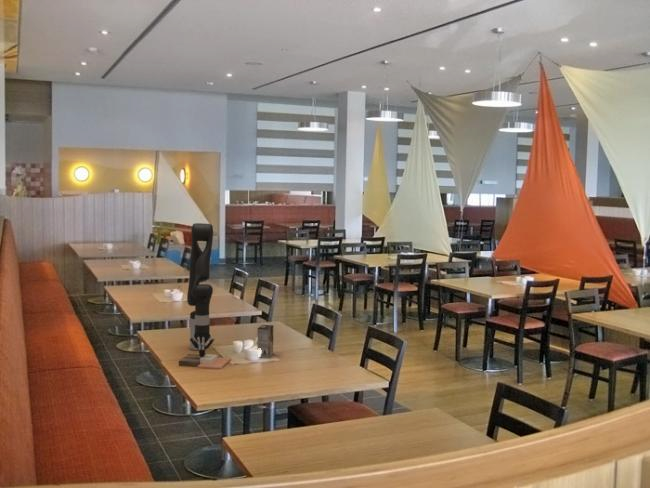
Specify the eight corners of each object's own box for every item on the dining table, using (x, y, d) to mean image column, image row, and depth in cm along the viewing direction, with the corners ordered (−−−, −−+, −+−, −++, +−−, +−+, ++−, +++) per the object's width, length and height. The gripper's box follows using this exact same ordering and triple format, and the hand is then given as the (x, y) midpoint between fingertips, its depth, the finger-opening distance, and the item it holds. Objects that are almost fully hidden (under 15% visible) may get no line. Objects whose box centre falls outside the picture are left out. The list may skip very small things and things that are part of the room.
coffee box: (262, 353, 372) (262, 324, 371) (273, 354, 371) (273, 325, 369) (257, 357, 363) (257, 327, 362) (268, 358, 362) (269, 328, 361)
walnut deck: (188, 358, 359) (188, 353, 359) (206, 359, 357) (206, 355, 357) (178, 365, 345) (178, 360, 345) (197, 366, 344) (197, 362, 343)
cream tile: (205, 359, 355) (205, 354, 355) (216, 359, 354) (216, 355, 354) (199, 363, 346) (199, 358, 346) (211, 364, 345) (211, 359, 345)
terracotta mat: (208, 358, 359) (208, 356, 359) (231, 360, 358) (231, 358, 357) (197, 368, 342) (197, 366, 342) (220, 369, 340) (220, 367, 340)
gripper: (217, 322, 351) (216, 355, 353) (192, 321, 353) (192, 354, 355) (212, 325, 344) (212, 359, 346) (187, 324, 346) (187, 357, 347)
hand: (202, 356), depth 350 cm, fingers closed
